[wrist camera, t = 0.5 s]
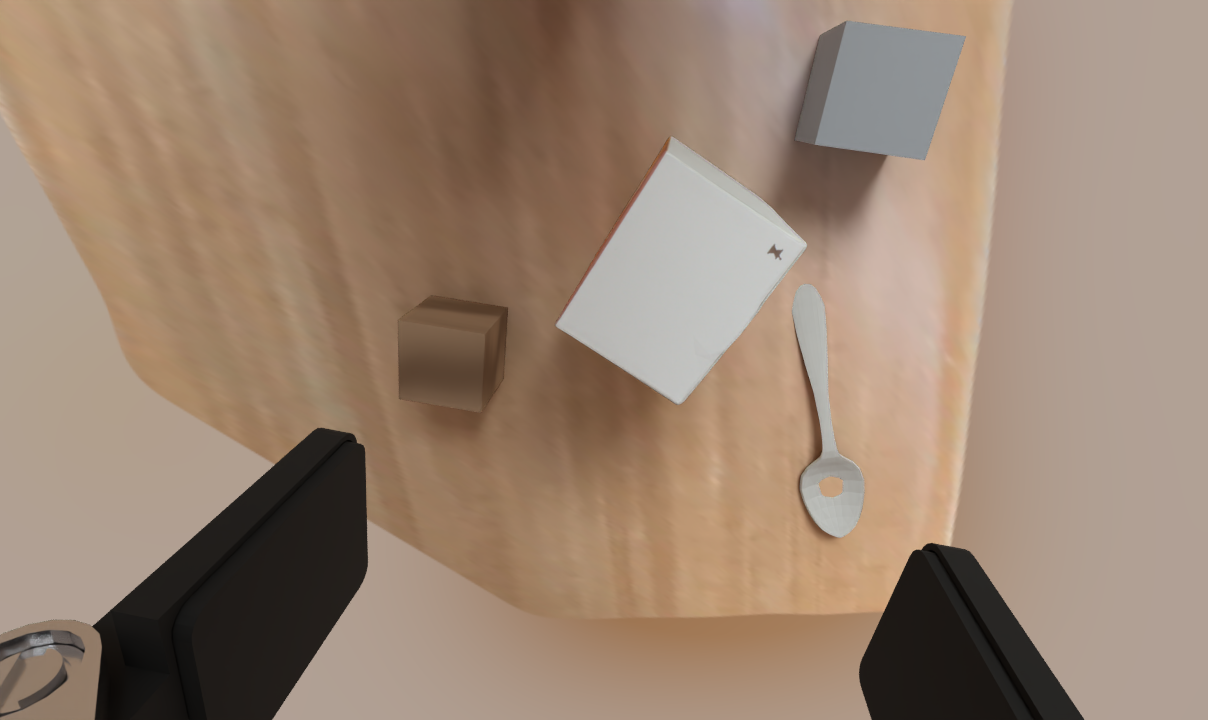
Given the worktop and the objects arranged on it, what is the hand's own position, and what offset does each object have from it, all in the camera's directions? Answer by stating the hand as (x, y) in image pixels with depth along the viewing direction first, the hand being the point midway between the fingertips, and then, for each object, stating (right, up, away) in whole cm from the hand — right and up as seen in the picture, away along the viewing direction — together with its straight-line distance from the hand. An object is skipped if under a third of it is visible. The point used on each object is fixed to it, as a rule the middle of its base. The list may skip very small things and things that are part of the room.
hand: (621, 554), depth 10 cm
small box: (+4, +11, +24) cm, 27 cm away
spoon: (+13, +1, +27) cm, 31 cm away
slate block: (+13, +17, +20) cm, 29 cm away
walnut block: (-9, +5, +28) cm, 30 cm away
